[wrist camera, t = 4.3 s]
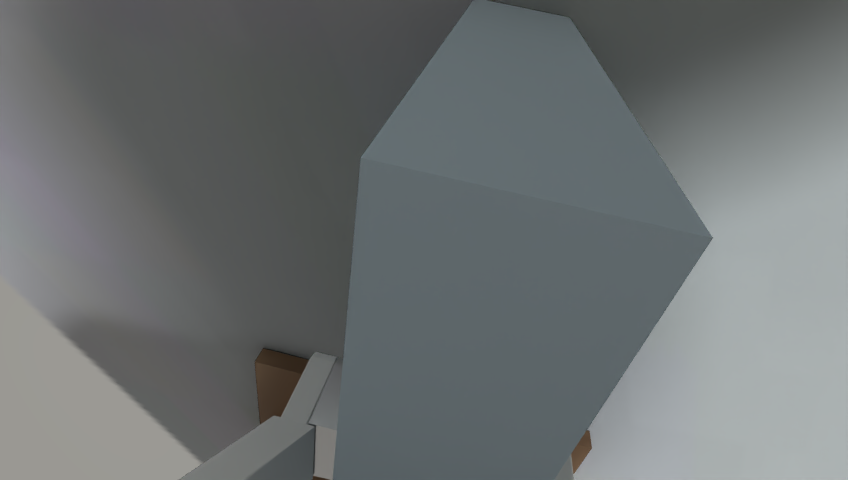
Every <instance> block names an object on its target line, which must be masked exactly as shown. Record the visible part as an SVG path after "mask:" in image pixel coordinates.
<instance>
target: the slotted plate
mask: <svg viewBox="0 0 848 480" xmlns="http://www.w3.org/2000/svg"><path fill="white" fill-rule="evenodd" d="M712 238H713V237H712V236H711V234H710V233H709V231H708V230H707V228H706V227H705V225H704V224H703V222H702V221H701V219H700V217H699V216H698V214H697V213H696V211H695V210H694V208H693V207H692V205H691V204H690V202H689V200H688V199H687V197H686V196H685V194H684V193H683V191H682V190H681V188H680V187H679V185H678V184H677V182H676V180H675V179H674V177H673V176H672V174H671V173H670V171H669V170H668V168H667V167H666V165H665V164H664V162H663V160H662V159H661V157H660V156H659V154H658V153H657V151H656V150H655V148H654V147H653V145H652V143H651V142H650V140H649V139H648V137H647V136H646V134H645V133H644V131H643V130H642V128H641V127H640V125H639V123H638V122H637V120H636V119H635V117H634V116H633V114H632V113H631V111H630V110H629V108H628V107H627V105H626V103H625V102H624V100H623V99H622V97H621V96H620V94H619V93H618V91H617V90H616V88H615V86H614V85H613V83H612V82H611V80H610V79H609V77H608V76H607V74H606V73H605V71H604V70H603V68H602V66H601V65H600V63H599V62H598V60H597V59H596V57H595V56H594V54H593V53H592V51H591V49H590V48H589V46H588V45H587V43H586V42H585V40H584V39H583V37H582V36H581V34H580V33H579V31H578V29H577V28H576V26H575V25H574V23H573V22H572V20H571V19H570V17H565V16H560V15H555V14H550V13H546V12H541V11H536V10H531V9H526V8H521V7H517V6H512V5H507V4H502V3H497V2H492V1H488V0H473V1H472V3H471V4H470V6H469V7H468V8H467V10H466V11H465V13H464V14H463V15H462V17H461V18H460V20H459V21H458V22H457V24H456V25H455V27H454V28H453V29H452V31H451V32H450V34H449V35H448V36H447V38H446V39H445V40H444V42H443V43H442V45H441V46H440V47H439V49H438V50H437V52H436V53H435V54H434V56H433V57H432V59H431V60H430V61H429V63H428V64H427V66H426V67H425V68H424V70H423V71H422V73H421V74H420V75H419V77H418V78H417V80H416V81H415V82H414V84H413V85H412V87H411V88H410V89H409V91H408V92H407V94H406V95H405V96H404V98H403V99H402V101H401V102H400V103H399V105H398V106H397V108H396V109H395V110H394V112H393V113H392V114H391V116H390V117H389V119H388V120H387V121H386V123H385V124H384V126H383V127H382V128H381V130H380V131H379V133H378V134H377V135H376V137H375V138H374V140H373V141H372V142H371V144H370V145H369V147H368V148H367V149H366V151H365V152H364V154H363V155H362V156H361V159H360V170H359V182H358V193H357V205H356V216H355V228H354V239H353V251H352V262H351V274H350V285H349V297H348V308H347V320H346V331H345V343H344V354H343V366H342V377H341V389H340V400H339V411H338V423H337V434H336V446H335V457H334V469H333V480H554V479H555V477H556V476H557V474H558V473H559V471H560V470H561V468H562V467H563V465H564V464H565V462H566V461H567V459H568V458H569V456H570V455H571V453H572V452H573V450H574V449H575V447H576V446H577V444H578V442H579V441H580V439H581V438H582V436H583V435H584V433H585V432H586V430H587V429H588V427H589V426H590V424H591V423H592V421H593V420H594V418H595V417H596V415H597V414H598V412H599V410H600V409H601V407H602V406H603V404H604V403H605V401H606V400H607V398H608V397H609V395H610V394H611V392H612V391H613V389H614V388H615V386H616V385H617V383H618V382H619V380H620V378H621V377H622V375H623V374H624V372H625V371H626V369H627V368H628V366H629V365H630V363H631V362H632V360H633V359H634V357H635V356H636V354H637V353H638V351H639V350H640V348H641V346H642V345H643V343H644V342H645V340H646V339H647V337H648V336H649V334H650V333H651V331H652V330H653V328H654V327H655V325H656V324H657V322H658V321H659V319H660V318H661V316H662V315H663V313H664V311H665V310H666V308H667V307H668V305H669V304H670V302H671V301H672V299H673V298H674V296H675V295H676V293H677V292H678V290H679V289H680V287H681V286H682V284H683V283H684V281H685V279H686V278H687V276H688V275H689V273H690V272H691V270H692V269H693V267H694V266H695V264H696V263H697V261H698V260H699V258H700V257H701V255H702V254H703V252H704V251H705V249H706V247H707V246H708V244H709V243H710V241H711V240H712Z"/></svg>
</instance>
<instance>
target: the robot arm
mask: <svg viewBox="0 0 848 480" xmlns="http://www.w3.org/2000/svg"><path fill="white" fill-rule="evenodd" d="M342 366H343V359H342V358H338V357H335V356H331V355H327V354H323V353H319V352H315V353H314V354H313V355H312V356H311V358H310V359H309V361H308V363H307V365H306V367H305V369H304V371H303V373H302V375H301V377H300V379H299V381H298V383H297V385H296V387H295V389H294V391H293V393H292V395H291V397H290V399H289V401H288V403H287V405H286V407H285V409H284V411H283V413H282V415H281V417H278V416H272V417H271V418H269V419H268V420H266V421H265V422H263V423H262V424H261V425H259V426H258V427H256V428H255V429H253V430H252V431H250V432H249V433H247V434H246V435H244V436H243V437H241V438H240V439H238V440H237V441H235V442H234V443H232V444H231V445H229V446H228V447H226V448H225V449H223V450H222V451H221V452H219V453H218V454H216V455H215V456H213V457H212V458H210V459H209V460H207V461H206V462H204V463H203V464H201V465H200V466H198V467H197V468H195V469H194V470H192V471H191V472H190V473H188V474H186V475H185V476H183V477H182V478H181V479H179V480H312V479H313V476H317V477H321V478H325V479H330V480H333V469H334V457H335V446H336V434H337V423H338V411H339V400H340V389H341V377H342ZM554 480H574V477H573V467H572V458H571V455H570V456H569V458H568V459H567V461H566V462H565V464H564V465H563V467H562V468H561V470H560V471H559V473H558V474H557V476H556V477H555V479H554Z"/></svg>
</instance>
